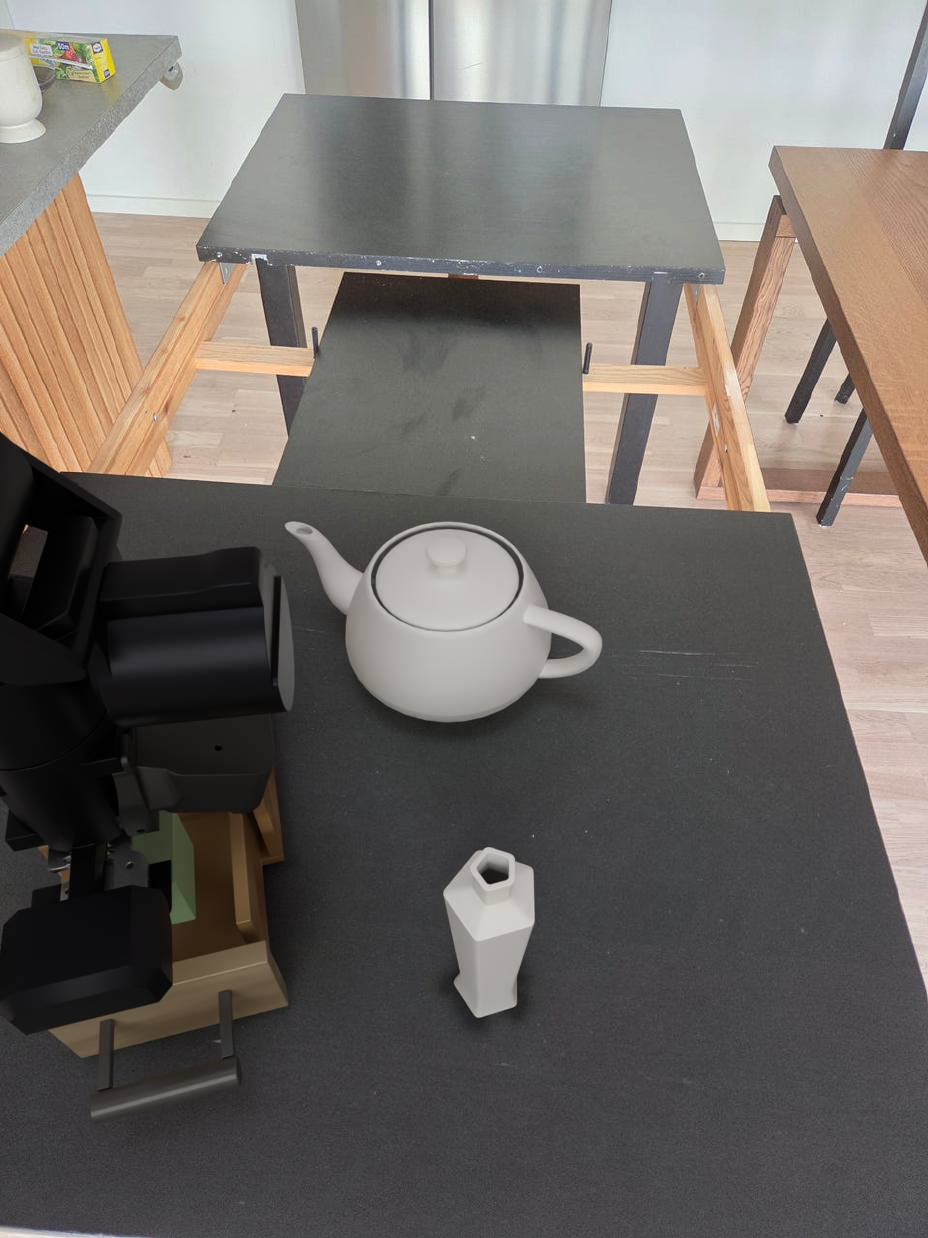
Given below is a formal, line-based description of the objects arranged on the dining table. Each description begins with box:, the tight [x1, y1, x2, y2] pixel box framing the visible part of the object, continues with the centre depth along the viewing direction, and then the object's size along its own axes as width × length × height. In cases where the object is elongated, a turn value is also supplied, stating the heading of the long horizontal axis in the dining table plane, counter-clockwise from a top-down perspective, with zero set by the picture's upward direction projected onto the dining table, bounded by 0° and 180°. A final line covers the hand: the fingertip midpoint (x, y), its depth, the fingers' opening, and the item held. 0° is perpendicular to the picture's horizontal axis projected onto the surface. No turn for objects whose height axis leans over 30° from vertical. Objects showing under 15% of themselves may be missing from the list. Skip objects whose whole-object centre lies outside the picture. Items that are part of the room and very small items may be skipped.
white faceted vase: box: [442, 846, 536, 1019], centre depth 44 cm, size 5×4×15 cm
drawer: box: [47, 811, 289, 1126], centre depth 48 cm, size 18×11×7 cm, turn 14°
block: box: [107, 810, 196, 924], centre depth 44 cm, size 4×4×4 cm
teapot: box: [284, 521, 603, 723], centre depth 62 cm, size 25×16×12 cm, turn 66°
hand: (146, 883), depth 45 cm, fingers closed on block, 4 cm apart
